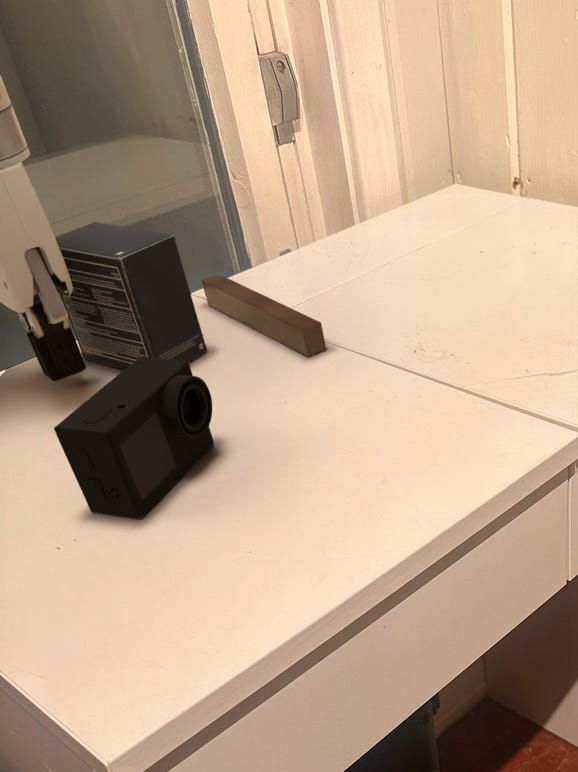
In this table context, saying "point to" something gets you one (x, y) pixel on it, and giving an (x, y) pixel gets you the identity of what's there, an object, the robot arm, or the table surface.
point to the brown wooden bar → (265, 315)
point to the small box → (129, 295)
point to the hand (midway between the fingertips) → (66, 372)
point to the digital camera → (138, 435)
